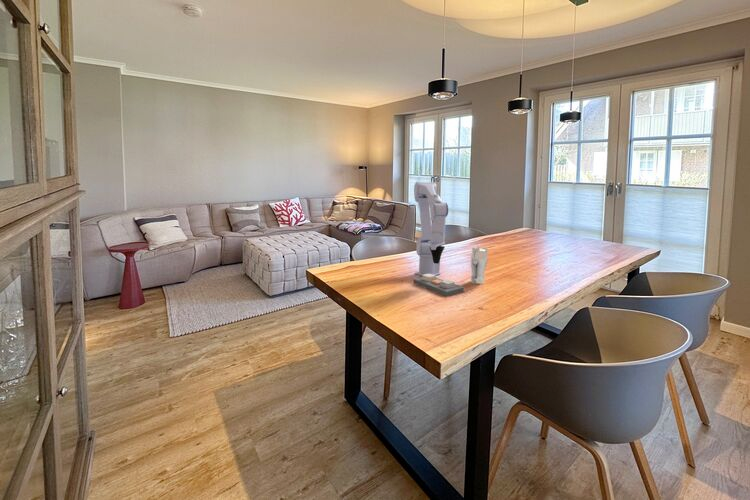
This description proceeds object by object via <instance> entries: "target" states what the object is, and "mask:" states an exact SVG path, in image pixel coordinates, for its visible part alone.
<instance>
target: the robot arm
mask: <svg viewBox="0 0 750 500" xmlns="http://www.w3.org/2000/svg"><path fill="white" fill-rule="evenodd" d="M437 188H438V187H437V183H436V182H435V181H433V182H427V181H426V182H424V181H423V182H421V181H420V182H419V181H416V182H414V187H413V193H414V194H413V195H414V197H413V198H414V202H416V203H417V204H418V208H419V220H420V229H421V236H419V237H418V238H417V240H416V242H415V243H416V250H415V251H416V254H417V255H418V257H419V261H418V262H419V263H418V264H419V265H418V271H415V272H414V274H415V275H419V276H420V277H422V275H424V274H432V275H435V276H439V275H441V273H440V266H441V257H442V254H443V251H444V250H445V244H446V242H445V237H446V236H445V235H446V234H445V233H446V222H447V221H446V220H447V219H446V218H447V217H448V215H449V206H448V203H447V202H443V200H442V198H441V197H440V195H439V194H438V193H437V192H438V191H437V190H438V189H437Z"/></svg>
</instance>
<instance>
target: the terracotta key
mask: <svg viewBox="0 0 750 500" xmlns="http://www.w3.org/2000/svg"><path fill="white" fill-rule="evenodd" d="M439 279H440V278H439ZM439 279H437V280H432V281H431V283H433V284H436V285H441V281H442V280H443V279H442V280H439Z"/></svg>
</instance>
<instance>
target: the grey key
mask: <svg viewBox="0 0 750 500" xmlns="http://www.w3.org/2000/svg"><path fill="white" fill-rule="evenodd" d="M443 280H444V279H443ZM455 284H456V283H455V281H453V280H449V279H445V280H444V281H441V285H440V286H441V287H444V288H446V289H449V288H454V287H455Z"/></svg>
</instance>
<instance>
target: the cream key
mask: <svg viewBox="0 0 750 500" xmlns="http://www.w3.org/2000/svg"><path fill="white" fill-rule="evenodd" d="M421 277H422V280H425V281H427V282H430V281H432V280H435V279H436V278H437V275H432V274H424V275H422V276H421Z"/></svg>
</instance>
